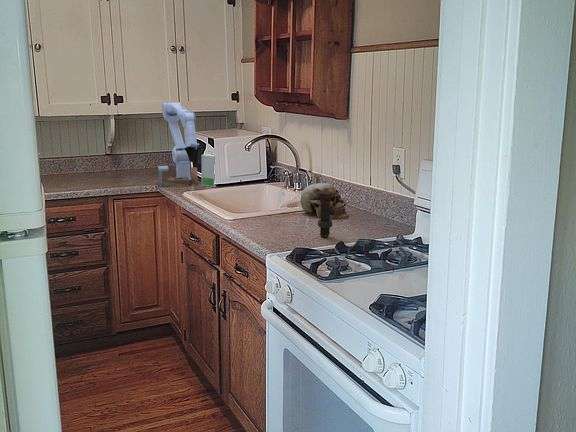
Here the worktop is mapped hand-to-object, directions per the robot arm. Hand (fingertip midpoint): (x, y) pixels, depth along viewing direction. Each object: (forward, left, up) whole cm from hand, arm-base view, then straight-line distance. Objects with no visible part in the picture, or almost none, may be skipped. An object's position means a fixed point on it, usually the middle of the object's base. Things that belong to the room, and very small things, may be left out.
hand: (193, 162), depth 303 cm
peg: (-2, 0, -11) cm, 11 cm away
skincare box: (+8, +8, -11) cm, 16 cm away
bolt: (+120, +35, -11) cm, 126 cm away
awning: (+1, -15, -11) cm, 19 cm away
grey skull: (+87, +45, -11) cm, 98 cm away
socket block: (+1, -9, -11) cm, 14 cm away
